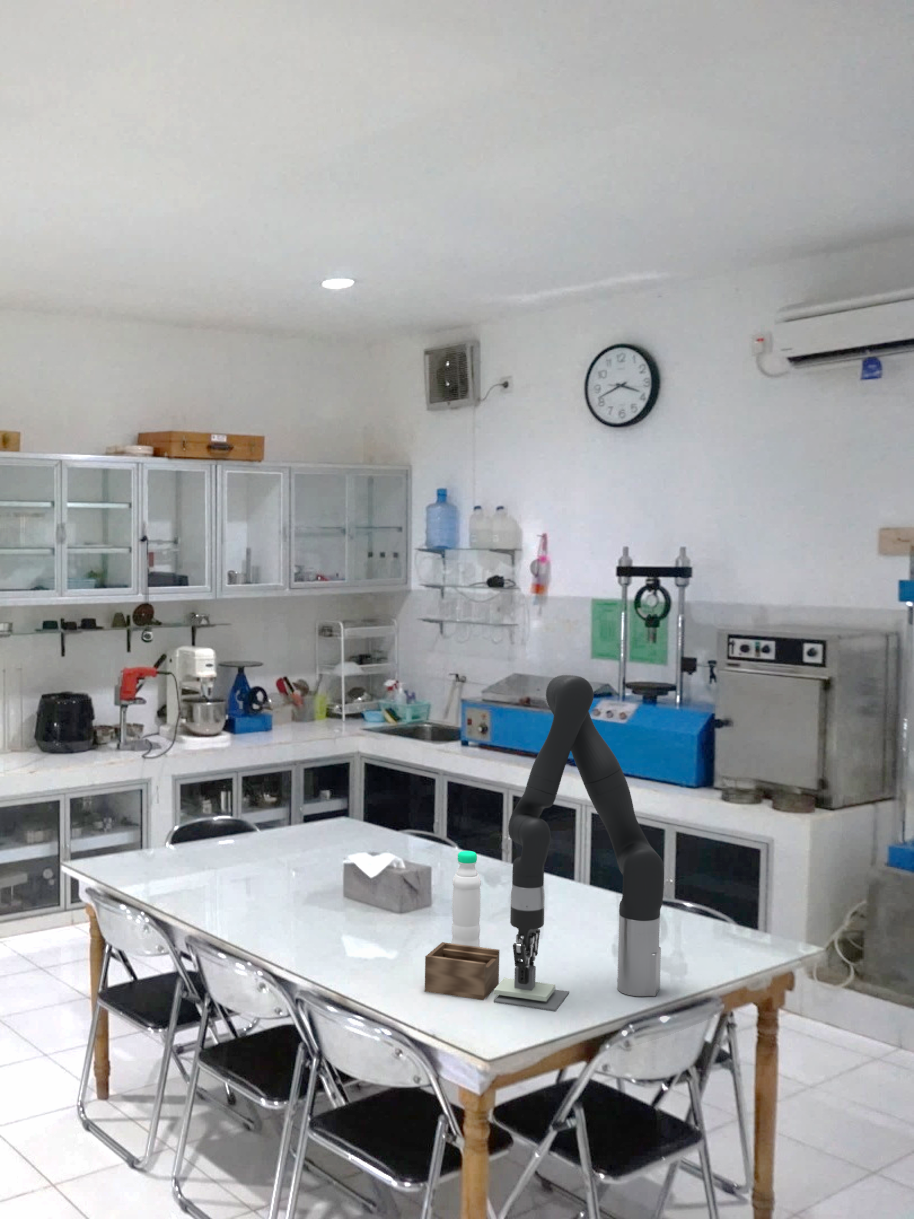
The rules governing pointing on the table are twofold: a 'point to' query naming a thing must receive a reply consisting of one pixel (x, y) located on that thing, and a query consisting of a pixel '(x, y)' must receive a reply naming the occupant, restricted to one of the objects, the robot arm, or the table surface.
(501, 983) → the lid
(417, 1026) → the table surface
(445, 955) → the box
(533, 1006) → the mat
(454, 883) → the water bottle
